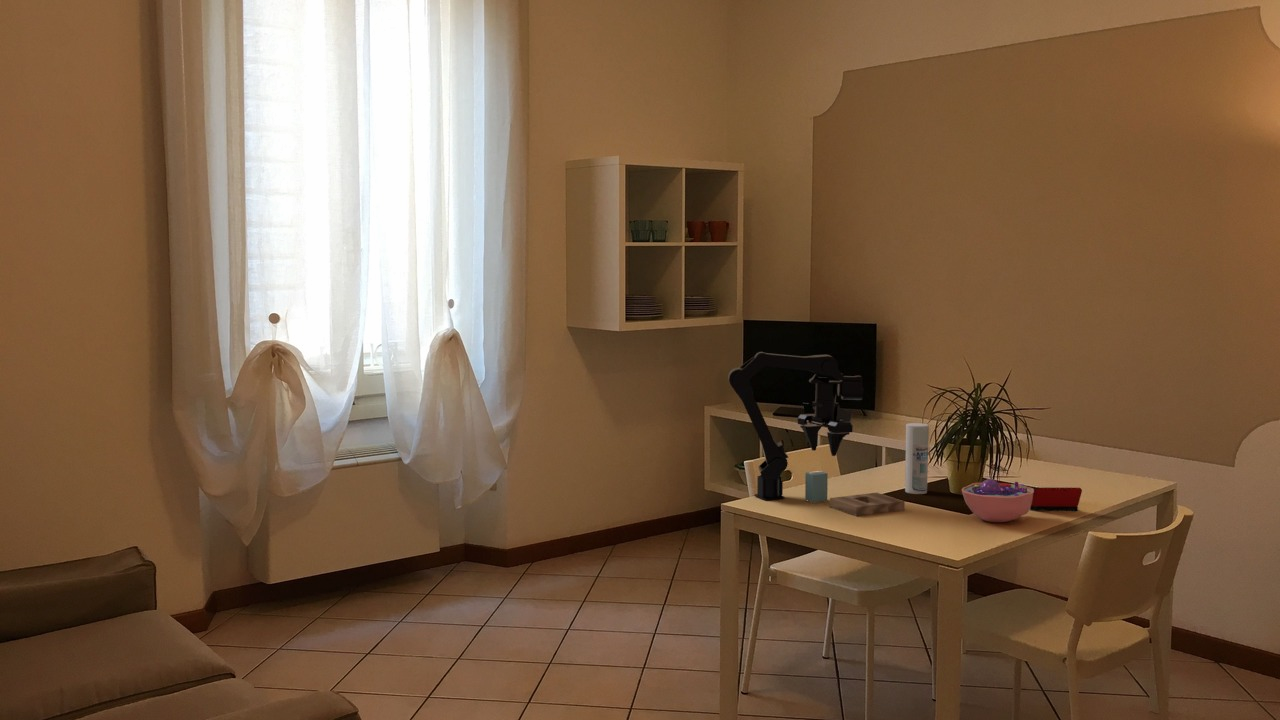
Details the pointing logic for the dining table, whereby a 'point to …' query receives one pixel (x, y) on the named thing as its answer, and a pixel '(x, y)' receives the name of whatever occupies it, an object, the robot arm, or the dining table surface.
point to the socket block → (867, 504)
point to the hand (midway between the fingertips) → (823, 453)
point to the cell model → (998, 500)
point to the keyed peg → (816, 486)
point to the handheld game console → (1056, 499)
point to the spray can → (916, 458)
